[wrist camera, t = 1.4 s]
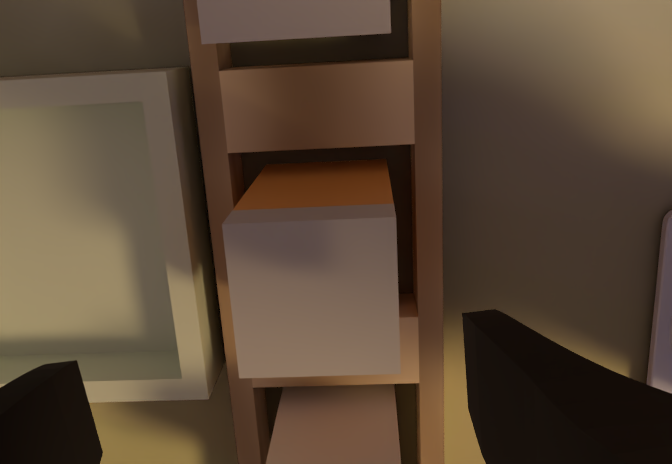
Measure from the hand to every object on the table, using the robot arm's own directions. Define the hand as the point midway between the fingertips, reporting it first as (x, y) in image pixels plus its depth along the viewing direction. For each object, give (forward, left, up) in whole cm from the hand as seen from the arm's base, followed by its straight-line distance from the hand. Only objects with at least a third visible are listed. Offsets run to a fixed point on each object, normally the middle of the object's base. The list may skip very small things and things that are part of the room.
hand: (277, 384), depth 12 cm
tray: (+9, 0, -11) cm, 14 cm away
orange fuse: (0, 0, -11) cm, 11 cm away
